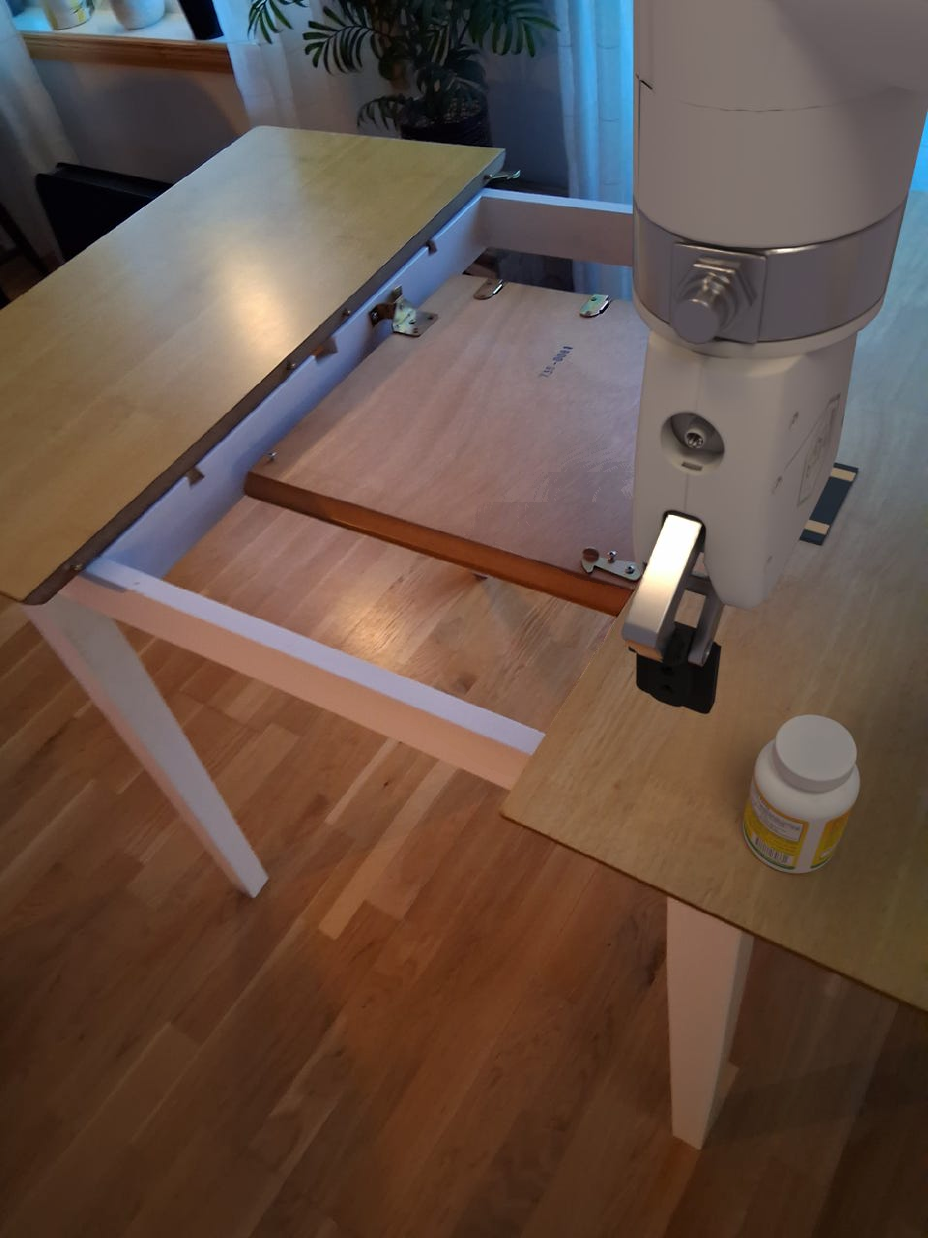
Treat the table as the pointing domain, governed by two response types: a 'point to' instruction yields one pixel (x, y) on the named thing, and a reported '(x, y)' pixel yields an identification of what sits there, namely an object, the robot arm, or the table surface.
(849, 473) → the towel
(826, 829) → the supplement bottle
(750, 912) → the table surface
